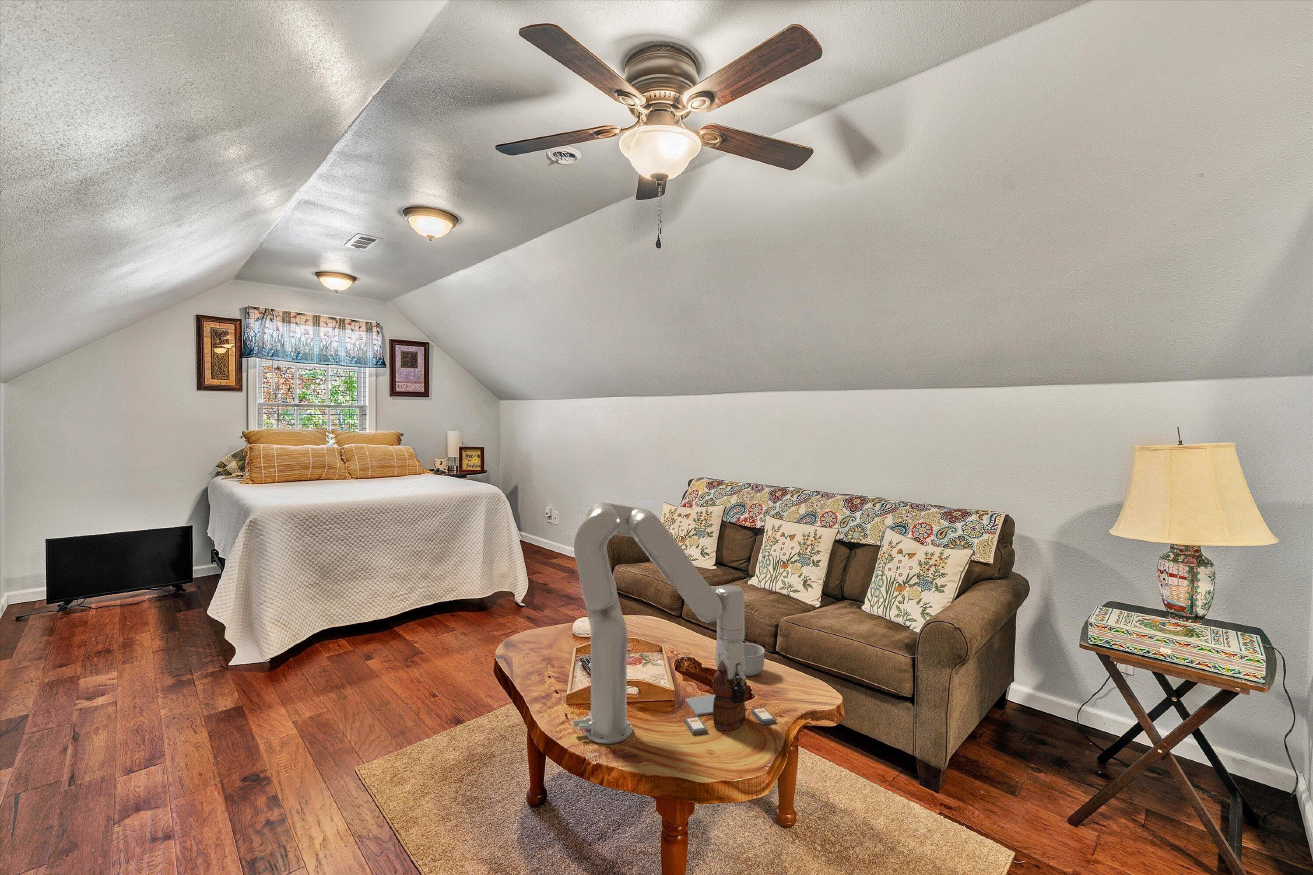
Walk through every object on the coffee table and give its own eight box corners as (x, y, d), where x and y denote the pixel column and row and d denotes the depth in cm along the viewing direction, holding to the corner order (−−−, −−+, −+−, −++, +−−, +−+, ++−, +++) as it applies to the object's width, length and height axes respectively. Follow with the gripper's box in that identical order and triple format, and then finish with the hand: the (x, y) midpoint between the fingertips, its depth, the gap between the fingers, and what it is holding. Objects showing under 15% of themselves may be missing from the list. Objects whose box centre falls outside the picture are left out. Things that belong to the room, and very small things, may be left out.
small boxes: (692, 734, 152) (692, 730, 152) (684, 722, 159) (684, 717, 159) (775, 722, 159) (775, 718, 159) (764, 711, 165) (764, 706, 165)
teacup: (769, 670, 194) (769, 646, 194) (756, 681, 185) (757, 656, 185) (731, 661, 202) (731, 638, 202) (717, 672, 193) (717, 648, 193)
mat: (696, 715, 162) (696, 713, 162) (685, 700, 172) (685, 698, 172) (746, 709, 166) (746, 707, 166) (732, 694, 176) (732, 692, 176)
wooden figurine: (730, 735, 152) (732, 667, 152) (709, 727, 156) (711, 661, 155) (750, 717, 162) (752, 653, 161) (729, 710, 165) (731, 648, 165)
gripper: (706, 623, 166) (707, 683, 166) (730, 644, 149) (731, 711, 150) (730, 621, 168) (731, 680, 168) (757, 641, 152) (757, 707, 152)
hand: (731, 694), depth 159 cm, fingers closed on wooden figurine, 8 cm apart
